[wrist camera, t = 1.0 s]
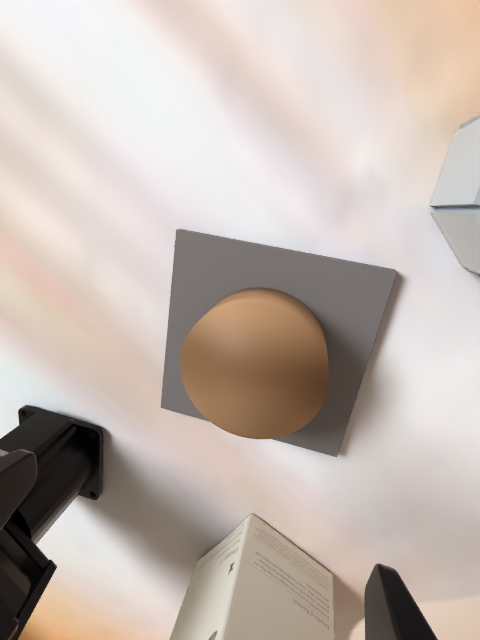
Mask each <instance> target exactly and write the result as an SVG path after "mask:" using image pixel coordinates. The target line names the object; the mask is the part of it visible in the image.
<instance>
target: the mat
mask: <svg viewBox="0 0 480 640" xmlns="http://www.w3.org/2000/svg"><path fill="white" fill-rule="evenodd" d="M396 274H397V271H396V270H394V269H389V268H384V267H378V266H373V265H368V264H363V263H357V262H352V261H347V260H341V259H336V258H331V257H326V256H320V255H315V254H310V253H304V252H299V251H294V250H288V249H283V248H278V247H273V246H267V245H262V244H257V243H251V242H246V241H241V240H236V239H230V238H225V237H220V236H214V235H209V234H204V233H199V232H193V231H188V230H183V229H178V230H176V240H175V251H174V263H173V274H172V285H171V297H170V308H169V319H168V331H167V342H166V354H165V365H164V376H163V388H162V399H161V408H164V409H167V410H171V411H174V412H178V413H181V414H185V415H188V416H192V417H196V418H199V419H203V420H206V421H209V420H208V419H207V418H206V417H204V416H203V415H202V414H201V413H200V412H199V410H198V409H197V408H196V407H195V406H194V404H193V403H192V401H191V400H190V398H189V396H188V394H187V392H186V390H185V387H184V385H183V381H182V377H181V371H180V357H181V351H182V347H183V344H184V341H185V339H186V337H187V335H188V333H189V332H190V331H191V329H192V328H193V326H194V325H195V324H196V323H197V322H198V321H199V320H200V319H201V318H202V317H203V316H204V315H205V314H206V313H207V312H208V311H210V310H211V309H212V308H213V307H214V306H215V305H216V304H217V303H218V302H219V301H221V300H222V299H223V298H225V297H226V296H228V295H230V294H232V293H234V292H236V291H239V290H243V289H247V288H255V287H263V288H271V289H276V290H279V291H283V292H285V293H287V294H290V295H292V296H293V297H295V298H297V299H298V300H300V301H301V302H302V303H304V304H305V305H306V306H307V307H308V308H309V309H310V310H311V311H312V312H313V313H314V315H315V316H316V317H317V319H318V321H319V322H320V324H321V326H322V329H323V331H324V334H325V338H326V343H327V355H328V371H329V383H328V390H327V395H326V397H325V400H324V403H323V405H322V406H321V408H320V410H319V411H318V413H317V414H316V415H315V417H314V418H313V419H312V420H311V421H310V422H309V423H308V424H306V425H305V426H303V427H302V428H301V429H299V430H297V431H295V432H293V433H291V434H288V435H285V436H282V437H278V438H272V439H274V440H278V441H281V442H285V443H288V444H292V445H295V446H299V447H303V448H306V449H310V450H313V451H317V452H320V453H324V454H327V455H331V456H335V457H337V455H338V452H339V449H340V446H341V443H342V439H343V436H344V433H345V430H346V427H347V424H348V421H349V418H350V415H351V412H352V409H353V406H354V403H355V400H356V396H357V393H358V390H359V387H360V384H361V381H362V378H363V375H364V372H365V369H366V366H367V363H368V360H369V357H370V353H371V350H372V347H373V344H374V341H375V338H376V335H377V332H378V329H379V326H380V323H381V320H382V317H383V314H384V310H385V307H386V304H387V301H388V298H389V295H390V292H391V289H392V286H393V283H394V280H395V277H396Z"/></svg>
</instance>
